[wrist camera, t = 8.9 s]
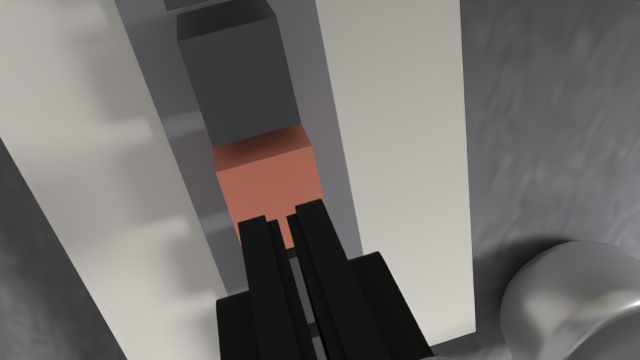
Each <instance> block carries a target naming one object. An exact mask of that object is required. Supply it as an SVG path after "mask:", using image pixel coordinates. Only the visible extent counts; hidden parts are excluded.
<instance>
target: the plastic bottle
mask: <svg viewBox="0 0 640 360" xmlns="http://www.w3.org/2000/svg"><path fill="white" fill-rule="evenodd" d="M500 326H501V330H502V333H503V336H504V338H505V340H506V343H507V345H508V348H509V350H510V352H511V355H512V357H513V359H514V360H640V261H639V260H638V259H636V258H634V257H633V256H631V255H629V254H628V253H626V252H624V251H623V250H621V249H620V248H618V247H616V246H614V245H611V244H607V243H602V242H592V241H573V242H567V243H563V244H560V245H557V246H554V247H552V248H550V249H548V250H545V251H544V252H542V253H540V254H539V255H537V256H535V257H534V258H533V259H531V260H530V261H529V262H528V263H526V264H525V265H524V266H523V267H522V268H521V269H520V270H519V271H518V272H517V273H516V274H515V276H514V277H513V278H512V280H511V281H510V282H509V284H508V286H507V288H506V290H505V292H504V295H503V299H502V304H501V314H500Z"/></svg>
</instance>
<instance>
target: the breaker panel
mask: <svg viewBox="0 0 640 360" xmlns="http://www.w3.org/2000/svg"><path fill="white" fill-rule="evenodd" d="M300 123H301V124H302V126H303V128H304V130H305V132H306V134H307V136H308V138H309V140H310V142H311V145H312V148H313V152H314V157H315V161H316V166H317V170H318V175H319V179H320V184H321V188H322V192H323V197H324V201H325V206H326V210H327V212H328V214H329V217H330V219H331V221H332V224H333V226H334V228H335V231H336V233H337V235H338V238H339V240H340V242H341V245H342V247H343V249H344V252H345V254H346V256H347V259H348V260H350V259H353V258H356V257H360V256H363V255H366V254H370V253H373V252H376V251H379V252H380V253H381V255H382V257H383V258H384V260H385V262H386V264H387V266H388V268H389V270H390V272H391V274H392V276H393V278H394V279H395V281H396V283H397V285H398V287H399V289H400V291H401V293H402V295H403V297H404V299H405V301H406V302H407V304H408V306H409V308H410V310H411V312H412V314H413V316H414V318H415V320H416V322H417V324H418V326H419V327H420V329H421V331H422V333H423V335H424V337H425V339H426V341H427V343H428V345H429V346H432V345H436V344H439V343H442V342H445V341H448V340H451V339H454V338H457V337H460V336H463V335H467V334H470V333H473V332H476V326H475V305H474V285H473V265H472V245H471V224H470V204H469V184H468V164H467V143H466V123H465V103H464V83H463V62H462V42H461V22H460V2H459V0H0V138H1V139H2V141H3V143H4V145H5V146H6V148H7V150H8V151H9V153H10V155H11V157H12V158H13V160H14V162H15V164H16V165H17V167H18V169H19V171H20V172H21V174H22V176H23V178H24V179H25V181H26V183H27V185H28V186H29V188H30V190H31V192H32V193H33V195H34V197H35V199H36V200H37V202H38V204H39V206H40V207H41V209H42V211H43V213H44V214H45V216H46V218H47V220H48V221H49V223H50V225H51V227H52V228H53V230H54V232H55V234H56V235H57V237H58V239H59V241H60V242H61V244H62V246H63V247H64V249H65V251H66V253H67V254H68V256H69V258H70V260H71V261H72V263H73V265H74V267H75V268H76V270H77V272H78V274H79V275H80V277H81V279H82V281H83V282H84V284H85V286H86V288H87V289H88V291H89V293H90V295H91V296H92V298H93V300H94V302H95V303H96V305H97V307H98V309H99V310H100V312H101V314H102V316H103V317H104V319H105V321H106V323H107V324H108V326H109V328H110V330H111V331H112V333H113V335H114V337H115V338H116V340H117V342H118V344H119V345H120V347H121V349H122V350H123V352H124V354H125V356H126V357H127V359H128V360H221V359H220V348H219V337H218V326H217V316H216V300H218V299H221V298H224V297H228V296H231V295H234V294H238V293H241V292H244V291H247V290H249V287H248V281H247V275H246V270H245V264H244V258H243V252H242V248H241V245H240V242H239V239H238V236H237V233H236V230H235V227H234V224H233V221H232V219H231V216H230V213H229V210H228V207H227V204H226V201H225V198H224V195H223V192H222V189H221V187H220V184H219V181H218V178H217V175H216V171H215V164H214V156H213V149H212V146H213V148H214V147H217V146H221V145H224V144H228V143H232V142H235V141H239V140H243V139H246V138H250V137H253V136H257V135H261V134H264V133H268V132H271V131H275V130H279V129H282V128H286V127H290V126H293V125H297V124H300ZM286 250H287V254H288V257H289V261H290V264H291V268H292V271H293V275H294V278H295V282H296V285H297V289H298V292H299V296H300V299H301V303H302V306H303V309H304V313H305V316H306V320H307V323H308V327H309V330H310V334H311V337H312V341H313V344H314V348H315V351H316V355H317V358H318V360H327V359H326V356H325V353H324V349H323V346H322V343H321V339H320V336H319V333H318V329H317V326H316V323H315V319H314V316H313V312H312V309H311V305H310V301H309V298H308V294H307V291H306V287H305V283H304V280H303V276H302V272H301V269H300V265H299V262H298V258H297V254H296V251H295V247H292V248H288V249H286Z"/></svg>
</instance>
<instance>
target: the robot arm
mask: <svg viewBox="0 0 640 360" xmlns="http://www.w3.org/2000/svg"><path fill="white" fill-rule="evenodd" d="M295 211H296V213H295V214H292V215H288V216H286V218H287V222H288V225H289V229H290V233H291V236H292V240H293V244H294V247H295V251H296V254H297V258H298V262H299V265H300V269H301V272H302V276H303V280H304V283H305V287H306V291H307V294H308V298H309V301H310V305H311V309H312V312H313V316H314V319H315V323H316V326H317V329H318V333H319V336H320V339H321V343H322V346H323V349H324V353H325V356H326V359H327V360H459V359H455V358H450V357H446V356H437V357H435V356H434V354H433V352H432V350H431V349H430V347H429V345H428V343H427V341H426V339H425V337H424V335H423V333H422V331H421V329H420V327H419V326H418V324H417V322H416V320H415V318H414V316H413V314H412V312H411V310H410V308H409V306H408V304H407V302H406V301H405V299H404V297H403V295H402V293H401V291H400V289H399V287H398V285H397V283H396V281H395V279H394V278H393V276H392V274H391V272H390V270H389V268H388V266H387V264H386V262H385V260H384V258H383V257H382V255H381V253H380V252H379V251H376V252H373V253H370V254H366V255H363V256H360V257H356V258H353V259H350V260H348V259H347V256H346V254H345V252H344V249H343V247H342V245H341V242H340V240H339V238H338V235H337V233H336V231H335V228H334V226H333V224H332V221H331V219H330V217H329V214H328V212H327V210H326V208H325V205H324V203H323V201H322V199H321V198H320V199H317V200H313V201H310V202H306V203H303V204H299V205H296V206H295ZM238 229H239V235H240V241H241V247H242V252H243V258H244V264H245V270H246V275H247V281H248V287H249V290H247V291H244V292H241V293H238V294H234V295H231V296H228V297H224V298H221V299H218V300H216V316H217V326H218V337H219V348H220V359H221V360H318V358H317V355H316V351H315V348H314V344H313V341H312V337H311V334H310V330H309V327H308V323H307V320H306V316H305V313H304V309H303V306H302V303H301V299H300V296H299V292H298V289H297V285H296V282H295V278H294V275H293V271H292V268H291V264H290V261H289V257H288V254H287V250H286V247H285V243H284V240H283V237H282V233H281V230H280V226H279V223H278V219H274V220H271V221H268V222H267V220H266V217H265V215H261V216H258V217H255V218H251V219H248V220H244V221H241V222H238Z"/></svg>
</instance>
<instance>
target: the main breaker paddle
mask: <svg viewBox="0 0 640 360" xmlns="http://www.w3.org/2000/svg"><path fill="white" fill-rule="evenodd" d="M212 149H213V156H214V164H215V171H216V175H217V178H218V181H219V184H220V187H221V189H222V192H223V195H224V198H225V201H226V204H227V207H228V210H229V213H230V216H231V219H232V221H233V224H234V227H235V230H236V233H237V236H238V239H239V242H240V245H241V241H240V235H239V229H238V222H241V221H244V220H248V219H251V218H255V217H258V216H261V215H265V217H266V220H267V222H268V221H271V220H274V219H278V223H279V226H280V230H281V233H282V237H283V240H284V243H285V247H286V249H288V248H292V247H294V244H293V240H292V236H291V233H290V229H289V225H288V222H287V218H286V216H288V215H292V214H295V213H296V211H295V206H296V205H299V204H303V203H306V202H310V201H313V200H317V199H320V198H321V199H322V201H323V203H324V205H325V201H324V197H323V192H322V188H321V184H320V179H319V175H318V170H317V166H316V161H315V157H314V152H313V148H312V145H311V142H310V140H309V138H308V136H307V134H306V132H305V130H304V128H303V126H302V124H301V123H300V124H297V125H293V126H290V127H286V128H282V129H279V130H275V131H271V132H268V133H264V134H261V135H257V136H253V137H250V138H246V139H243V140H239V141H235V142H232V143H228V144H224V145H221V146H217V147H214V148H213V146H212ZM325 208H326V206H325ZM241 248H242V247H241Z"/></svg>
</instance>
